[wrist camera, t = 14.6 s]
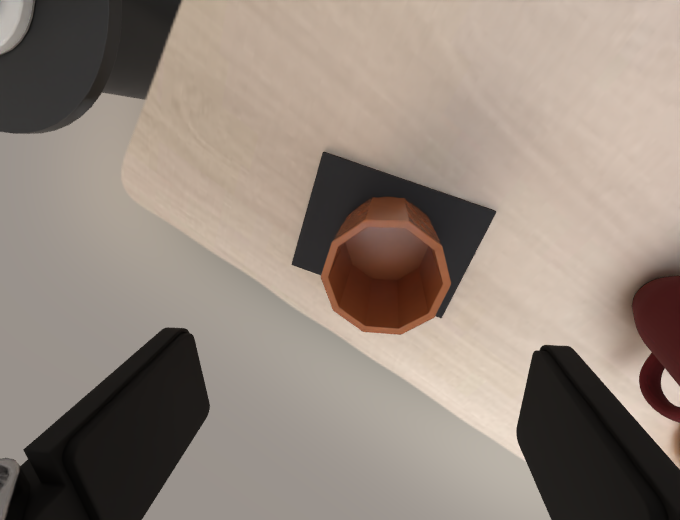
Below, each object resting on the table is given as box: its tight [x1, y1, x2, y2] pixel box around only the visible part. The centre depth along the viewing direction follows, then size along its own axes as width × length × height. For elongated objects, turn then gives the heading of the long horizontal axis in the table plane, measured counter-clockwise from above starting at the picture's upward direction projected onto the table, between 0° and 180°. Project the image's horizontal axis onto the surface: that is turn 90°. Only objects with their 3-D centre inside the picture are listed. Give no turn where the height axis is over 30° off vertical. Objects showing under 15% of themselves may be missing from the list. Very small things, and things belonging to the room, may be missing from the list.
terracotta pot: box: [321, 197, 451, 335], centre depth 23 cm, size 7×8×8 cm
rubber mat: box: [292, 152, 496, 318], centre depth 27 cm, size 14×10×1 cm
